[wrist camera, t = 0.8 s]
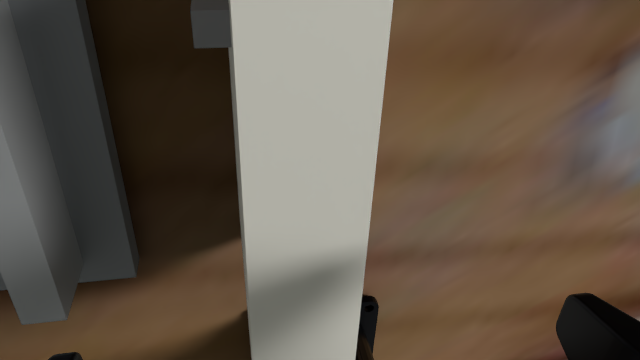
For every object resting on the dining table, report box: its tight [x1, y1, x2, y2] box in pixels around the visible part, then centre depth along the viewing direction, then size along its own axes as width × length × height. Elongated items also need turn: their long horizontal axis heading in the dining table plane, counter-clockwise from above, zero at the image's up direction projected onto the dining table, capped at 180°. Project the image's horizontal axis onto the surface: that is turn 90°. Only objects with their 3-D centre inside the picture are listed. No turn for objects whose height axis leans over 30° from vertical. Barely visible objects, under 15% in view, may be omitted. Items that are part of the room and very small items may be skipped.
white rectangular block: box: [190, 0, 393, 360], centre depth 16 cm, size 13×4×9 cm, turn 178°
